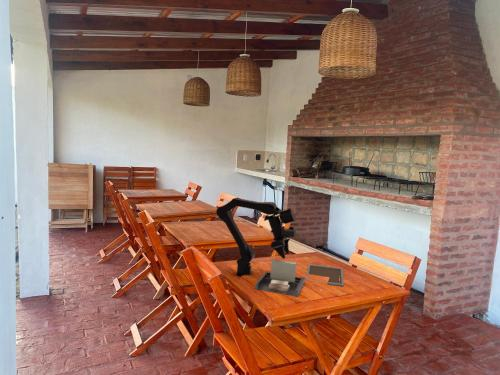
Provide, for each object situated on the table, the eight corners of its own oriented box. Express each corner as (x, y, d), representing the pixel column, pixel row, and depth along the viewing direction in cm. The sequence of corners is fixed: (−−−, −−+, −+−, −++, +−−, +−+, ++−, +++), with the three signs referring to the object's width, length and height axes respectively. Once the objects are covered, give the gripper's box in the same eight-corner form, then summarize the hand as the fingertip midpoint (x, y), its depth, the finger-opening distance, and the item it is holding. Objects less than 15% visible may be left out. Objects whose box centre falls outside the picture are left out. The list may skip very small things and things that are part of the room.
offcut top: (270, 285, 186) (270, 282, 186) (271, 282, 190) (271, 279, 190) (287, 287, 184) (287, 284, 184) (288, 284, 189) (288, 281, 189)
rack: (254, 291, 184) (255, 283, 184) (265, 278, 202) (265, 270, 202) (297, 298, 179) (297, 290, 178) (304, 284, 197) (304, 277, 196)
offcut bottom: (268, 288, 186) (268, 285, 186) (271, 284, 191) (271, 281, 191) (287, 291, 184) (287, 288, 184) (289, 288, 189) (289, 284, 188)
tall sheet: (269, 282, 195) (271, 260, 194) (270, 280, 197) (272, 259, 195) (293, 286, 191) (295, 264, 190) (294, 284, 193) (296, 262, 192)
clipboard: (305, 280, 201) (308, 262, 230) (305, 283, 201) (308, 265, 230) (344, 285, 197) (342, 266, 226) (343, 288, 197) (342, 269, 227)
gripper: (287, 225, 187) (297, 257, 187) (294, 218, 205) (304, 247, 205) (266, 232, 190) (276, 262, 190) (275, 224, 208) (284, 252, 208)
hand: (286, 256), depth 198 cm, fingers open, 9 cm apart
